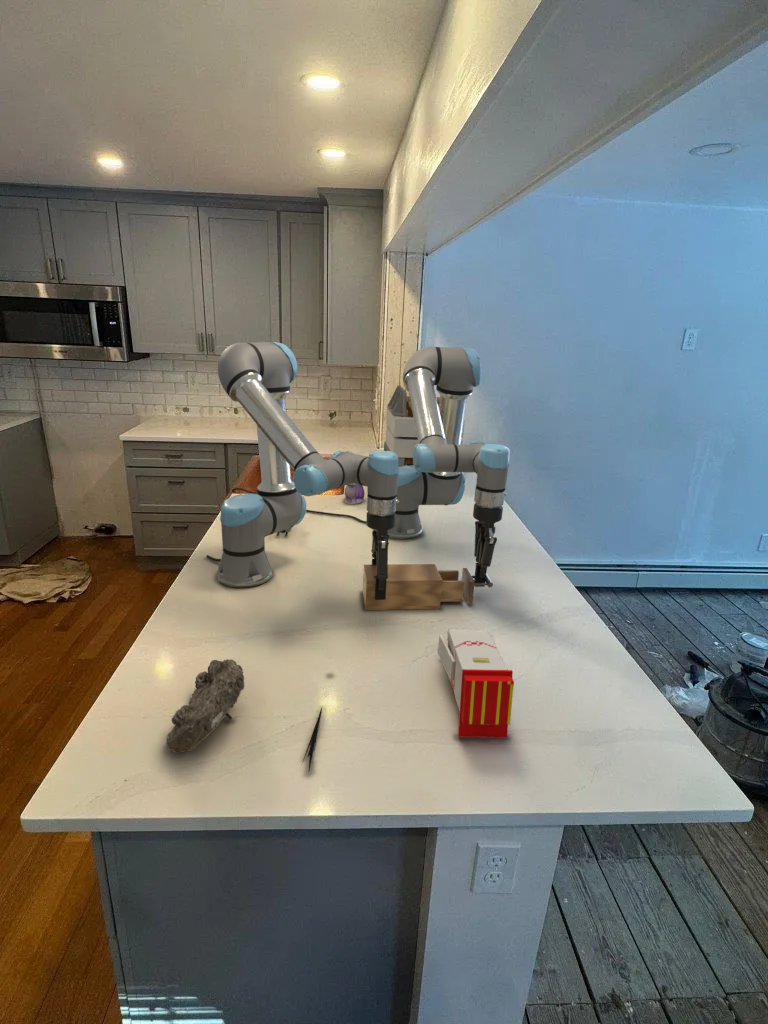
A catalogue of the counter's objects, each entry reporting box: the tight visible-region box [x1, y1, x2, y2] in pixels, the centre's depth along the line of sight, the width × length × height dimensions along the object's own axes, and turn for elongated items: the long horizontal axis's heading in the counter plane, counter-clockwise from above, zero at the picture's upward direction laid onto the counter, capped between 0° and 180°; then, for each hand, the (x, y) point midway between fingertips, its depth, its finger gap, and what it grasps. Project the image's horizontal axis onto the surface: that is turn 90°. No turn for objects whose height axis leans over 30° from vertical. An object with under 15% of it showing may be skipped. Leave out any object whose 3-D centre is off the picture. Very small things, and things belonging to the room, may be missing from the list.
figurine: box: [343, 483, 366, 505], centre depth 228 cm, size 9×10×15 cm
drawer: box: [437, 567, 494, 605], centre depth 155 cm, size 24×9×7 cm, turn 96°
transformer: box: [383, 384, 465, 467], centre depth 268 cm, size 34×33×41 cm
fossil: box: [166, 658, 245, 754], centre depth 106 cm, size 22×10×15 cm
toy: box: [437, 628, 515, 738], centre depth 117 cm, size 12×13×30 cm
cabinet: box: [362, 563, 442, 611], centre depth 153 cm, size 20×10×8 cm, turn 96°
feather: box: [301, 673, 332, 771], centre depth 108 cm, size 2×28×2 cm
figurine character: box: [276, 526, 295, 537], centre depth 197 cm, size 7×8×15 cm
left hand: (378, 589), depth 153 cm, fingers closed on cabinet, 10 cm apart
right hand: (479, 585), depth 156 cm, fingers closed
